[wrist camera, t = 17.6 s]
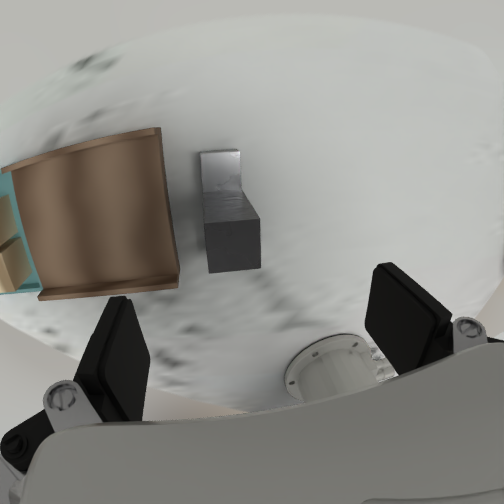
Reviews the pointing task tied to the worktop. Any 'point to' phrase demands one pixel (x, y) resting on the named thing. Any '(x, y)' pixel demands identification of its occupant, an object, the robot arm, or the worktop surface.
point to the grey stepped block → (228, 215)
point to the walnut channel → (98, 217)
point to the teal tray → (19, 235)
